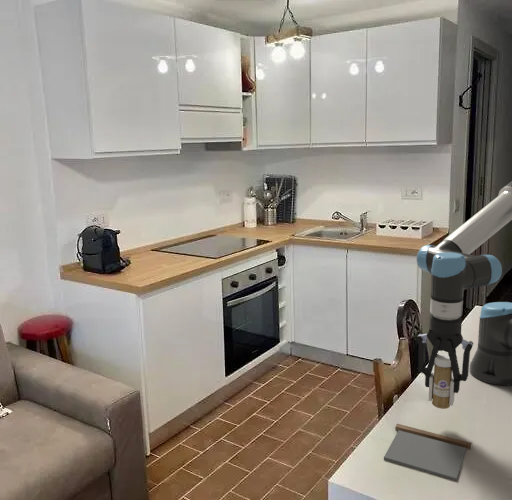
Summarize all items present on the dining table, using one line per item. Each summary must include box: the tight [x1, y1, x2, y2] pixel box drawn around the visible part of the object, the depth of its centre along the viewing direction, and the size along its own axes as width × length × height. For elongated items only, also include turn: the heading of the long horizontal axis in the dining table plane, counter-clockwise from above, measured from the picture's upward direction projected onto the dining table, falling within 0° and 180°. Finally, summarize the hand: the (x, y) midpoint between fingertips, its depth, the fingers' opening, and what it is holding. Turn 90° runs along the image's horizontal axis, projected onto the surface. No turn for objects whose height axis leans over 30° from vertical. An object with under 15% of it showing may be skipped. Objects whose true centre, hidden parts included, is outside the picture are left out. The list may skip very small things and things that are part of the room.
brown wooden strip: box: [394, 423, 473, 450], centre depth 130 cm, size 2×18×1 cm, turn 60°
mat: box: [383, 430, 466, 481], centre depth 123 cm, size 13×16×1 cm
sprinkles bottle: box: [431, 353, 453, 410], centre depth 134 cm, size 5×5×13 cm
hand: (441, 400), depth 135 cm, fingers closed on sprinkles bottle, 4 cm apart
